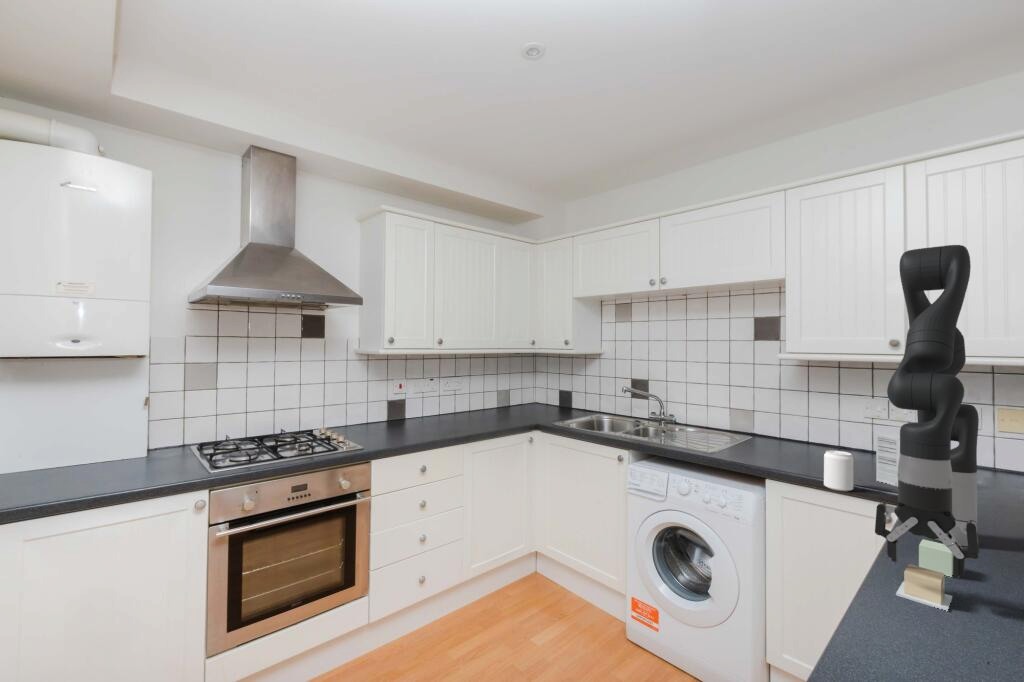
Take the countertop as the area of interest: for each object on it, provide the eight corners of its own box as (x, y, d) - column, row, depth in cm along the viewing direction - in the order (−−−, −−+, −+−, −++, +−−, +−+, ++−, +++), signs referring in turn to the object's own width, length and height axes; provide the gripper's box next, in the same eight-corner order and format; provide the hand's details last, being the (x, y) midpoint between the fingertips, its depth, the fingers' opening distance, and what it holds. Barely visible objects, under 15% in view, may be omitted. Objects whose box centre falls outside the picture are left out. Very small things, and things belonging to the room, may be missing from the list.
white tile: (902, 583, 90) (902, 581, 90) (952, 598, 85) (952, 595, 85) (896, 595, 86) (896, 593, 86) (947, 611, 81) (947, 609, 81)
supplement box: (892, 479, 169) (893, 433, 170) (922, 486, 161) (922, 437, 161) (875, 481, 166) (875, 434, 167) (904, 488, 157) (904, 438, 158)
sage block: (922, 562, 100) (922, 539, 100) (954, 571, 97) (954, 546, 97) (918, 569, 97) (918, 545, 97) (951, 578, 93) (951, 553, 93)
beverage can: (841, 485, 160) (841, 450, 160) (859, 492, 152) (859, 455, 152) (818, 484, 160) (818, 449, 160) (835, 492, 152) (835, 455, 152)
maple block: (909, 584, 89) (909, 563, 89) (944, 595, 85) (944, 573, 85) (904, 593, 86) (904, 571, 86) (940, 605, 82) (940, 582, 82)
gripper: (980, 485, 83) (980, 576, 83) (880, 469, 94) (880, 550, 94) (977, 494, 78) (977, 591, 78) (871, 475, 89) (871, 561, 89)
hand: (924, 568), depth 86 cm, fingers open, 8 cm apart
